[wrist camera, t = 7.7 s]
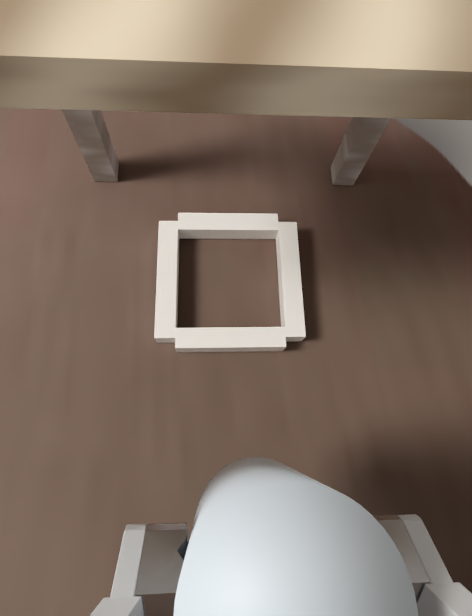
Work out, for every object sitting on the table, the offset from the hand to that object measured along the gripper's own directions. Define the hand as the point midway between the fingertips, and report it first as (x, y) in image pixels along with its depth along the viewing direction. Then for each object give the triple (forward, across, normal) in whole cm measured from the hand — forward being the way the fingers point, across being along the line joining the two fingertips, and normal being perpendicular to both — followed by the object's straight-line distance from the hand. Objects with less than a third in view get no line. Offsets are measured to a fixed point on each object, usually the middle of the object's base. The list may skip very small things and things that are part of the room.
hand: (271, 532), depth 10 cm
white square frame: (+17, +1, 0) cm, 17 cm away
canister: (+3, 0, +4) cm, 4 cm away
